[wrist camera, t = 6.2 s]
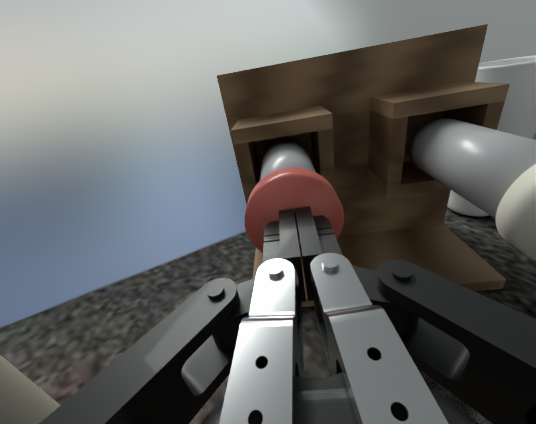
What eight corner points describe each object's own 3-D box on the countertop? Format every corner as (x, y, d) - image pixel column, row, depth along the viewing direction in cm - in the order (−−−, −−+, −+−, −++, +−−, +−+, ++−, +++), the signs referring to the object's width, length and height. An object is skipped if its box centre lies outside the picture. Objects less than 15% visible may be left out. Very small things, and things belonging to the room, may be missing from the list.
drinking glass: (523, 208, 27) (586, 49, 20) (485, 229, 25) (540, 62, 18) (458, 189, 33) (489, 60, 26) (423, 206, 31) (446, 70, 24)
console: (431, 221, 28) (468, 28, 19) (502, 288, 19) (630, -9, 10) (258, 242, 30) (221, 75, 21) (252, 311, 21) (184, 76, 12)
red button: (315, 182, 22) (311, 125, 19) (344, 256, 13) (343, 169, 10) (262, 189, 22) (251, 135, 20) (254, 265, 13) (234, 185, 11)
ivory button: (464, 171, 19) (480, 104, 16) (629, 257, 10) (714, 140, 8) (399, 180, 19) (406, 116, 17) (503, 269, 10) (547, 162, 8)
